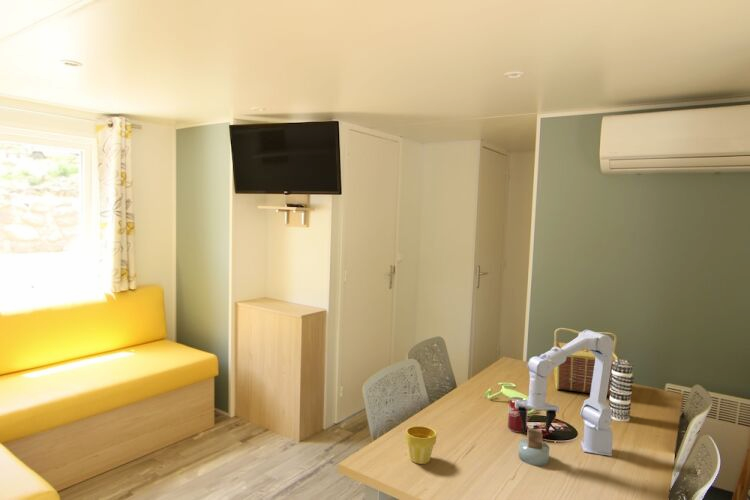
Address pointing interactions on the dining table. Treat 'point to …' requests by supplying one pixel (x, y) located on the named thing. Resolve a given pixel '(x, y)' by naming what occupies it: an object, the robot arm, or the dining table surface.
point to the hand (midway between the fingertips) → (535, 429)
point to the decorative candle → (620, 390)
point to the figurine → (508, 393)
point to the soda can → (515, 416)
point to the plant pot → (420, 443)
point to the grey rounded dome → (533, 454)
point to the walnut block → (534, 438)
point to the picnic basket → (578, 367)
